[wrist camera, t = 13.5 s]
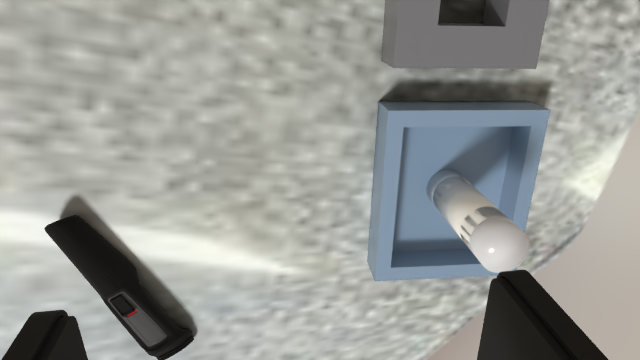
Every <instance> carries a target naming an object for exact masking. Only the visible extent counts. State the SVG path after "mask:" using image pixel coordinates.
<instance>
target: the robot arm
mask: <svg viewBox="0 0 640 360" xmlns="http://www.w3.org/2000/svg"><path fill="white" fill-rule="evenodd" d="M2 360H88V358H87V355H86V351H85V348H84V344H83V341H82V337H81V334H80V330H79V327H78V323H77V320H76V318H75V317H74V316H68V315H67V313H66V312H65V311H64V310H56V311H45V312H35V313H33V314H32V315H31V316H30V317H29V318H28V320H27V321H26V323H25V324H24V326H23V328H22V329H21V331H20V332H19V334H18V335H17V337H16V338H15V340H14V341H13V343H12V345H11V346H10V348H9V349H8V351H7V352H6V354H5V355H4V357H3V358H2ZM477 360H608V359H607V357H605V355H604V354H603V353H602V352H601V351H600V350H599V349H598V348H597V347H596V345H595V344H594V343H593V342H592V341H591V340H590V339H589V338H588V337H587V336H586V334H585V333H584V332H583V331H582V330H581V329H580V328H579V327H578V326H577V325H576V324H575V322H574V321H573V320H572V319H571V318H570V317H569V316H568V315H567V314H566V313H565V312H564V310H563V309H562V308H561V307H560V306H559V305H558V304H557V303H556V302H555V301H554V299H553V298H552V297H551V296H550V295H549V294H548V293H547V292H546V291H545V290H544V289H543V288H542V286H541V285H540V284H539V283H538V282H537V281H536V280H535V279H534V278H533V277H532V275H531V274H530V273H529V272H527V271H526V270H514V271H503V272H500V273H499V274H498V275H497V278H495V279H493V280H492V281H491V284H490V289H489V295H488V301H487V306H486V312H485V318H484V323H483V329H482V335H481V340H480V346H479V351H478V357H477Z"/></svg>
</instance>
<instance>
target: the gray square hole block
mask: <svg viewBox="0 0 640 360" xmlns="http://www.w3.org/2000/svg"><path fill="white" fill-rule="evenodd" d="M440 2H441V0H385V15H384V29H383V44H382V58H381V61H383V62H384V63H386V64H388V65H390V66H391V67H393V68H510V69H536V66H537V61H538V56H539V51H540V46H541V40H542V35H543V30H544V25H545V20H546V14H547V9H548V4H549V0H486V1H485V8H484V15H483V22H482V23H438V20H439V11H440Z"/></svg>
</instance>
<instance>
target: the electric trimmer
mask: <svg viewBox="0 0 640 360" xmlns="http://www.w3.org/2000/svg"><path fill="white" fill-rule="evenodd" d="M45 231H46V232H47V234H48V235H49V236H50V237H51V238H52V239H53V241H54V242H55V243H56V244H57V245H58V246H59V248H60V249H61V250H62V251H63V252H64V253H65V255H66V256H67V257H68V258H69V259H70V261H71V262H72V263H73V264H74V265H75V266H76V268H77V269H78V270H79V271H80V272H81V273H82V275H83V276H84V277H85V278H86V279H87V281H88V282H89V283H90V284H91V285H92V286H93V288H94V289H95V290H96V291H97V292H98V294H99V295H100V296H101V298H102V299H103V301H104V302H105V304H106V305H107V306H108V308H109V309H110V310H111V311H112V313H113V314H114V315H115V316H116V317H117V319H118V320H119V321H120V322H121V323H122V325H123V326H124V327H125V328H126V329H127V330H128V332H129V333H130V334H131V335H132V336H133V338H134V339H135V340H136V341H137V342H138V344H139V345H140V346H141V347H142V348H143V349H144V350H145V351H146V352H147V353H148V354H149V355H151V356H155V357H157V359H158V360H165V359H167V358H169V357H171V356H173V355H174V354H176V353H178V352H179V351H181V350H182V349H184V348H185V347H186V346H188V345H189V344H190V343H191V342H192V341H193V340H194V338H193V337H192V336H191V332H192V331H191V330H190V329H186V330H181V329H180V328H179V327H177V325H176V324H175V323H174V322H173V321H172V320H171V319H170V318H169V316H168V315H167V314H166V313H165V312H164V311H163V310H162V309H161V307H160V306H159V305H158V304H157V303H156V302H155V301H154V300H153V298H152V297H151V296H150V295H149V294H148V293H147V292H146V291H145V289H144V288H143V287H142V286H141V285H140V283H139V280H138V277H137V272H136V268H135V267H134V266H133V265H132V263H131V262H130V261H129V260H128V259H127V258H126V257H124V256H123V255H122V254H121V253H120V252H119V251H118V250H117V249H116V248H114V247H113V246H112V245H111V244H110V243H109V242H108V241H107V240H105V239H104V238H103V237H102V236H101V235H100V234H99V233H98V232H97V231H95V230H94V229H93V228H92V227H91V226H90V225H89V224H88V223H87V222H85V221H84V220H83V219H82V218H81V217H79V216H77V215H74V216H70V217H67V218H64V219H61V220H58V221H56V222H54V223H51V224H49V225H47V226H46V227H45Z"/></svg>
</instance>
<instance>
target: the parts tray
mask: <svg viewBox="0 0 640 360" xmlns="http://www.w3.org/2000/svg"><path fill="white" fill-rule="evenodd" d="M549 113H550V110H549V109H547V108H544V107H542V106H539V105H537V104H535V103H532V102H530V101H378V116H377V130H376V144H375V159H374V173H373V188H372V202H371V216H370V231H369V245H368V260H367V262H368V264H369V267H370V269H371V272H372V275H373V277H374V280H375V281H390V280H411V279H433V278H454V277H476V276H497V275H498V274H499V273H494V272H491V271H489V270H487V269H486V268H484V266H483V265H482V264H481V263H480V262H479V260H478V259H477V258H476V257H475V255H474V254H473V253H472V252H471V250H470V249H469V248H468V247H467V245H466V244H465V243H464V242H463V240H462V239H461V238H460V237H459V235H458V234H457V233H456V232H455V230H454V229H453V228H452V227H451V225H450V224H449V223H448V222H447V220H446V219H445V218H444V217H443V215H442V214H441V213H440V212H439V210H438V209H437V208H436V207H435V206H434V204H433V203H432V202H431V201H430V199H429V198H428V196H427V191H426V190H427V184H428V182H429V180H430V179H431V177H432V176H433V175H434V174H436V173H437V172H439V171H441V170H445V169H452V170H455V171H457V172H459V173H460V174H461V175H462V176H463V177H464V178H465V179H467V180H468V181H469V182H470V183H471V184H472V185H473V186H474V187H475V188H476V189H477V190H478V191H480V192H481V193H482V194H483V195H484V196H485V197H486V198H487V199H488V200H489V201H490V202H491V203H493V204H494V205H495V206H496V207H497V208H498V209H499V210H500V211H501V212H502V213H503V214H505V215H506V216H507V217H508V218H509V219H510V220H511V221H512V222H513V223H514V224H515V225H516V226H518V227H519V228H520V229H521V230H522V231H523V232H525V228H526V223H527V218H528V213H529V209H530V204H531V199H532V194H533V190H534V185H535V180H536V175H537V171H538V166H539V161H540V156H541V151H542V147H543V142H544V137H545V132H546V128H547V123H548V118H549ZM514 270H517V267H516V268H515V269H513V270H511V271H514Z"/></svg>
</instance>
